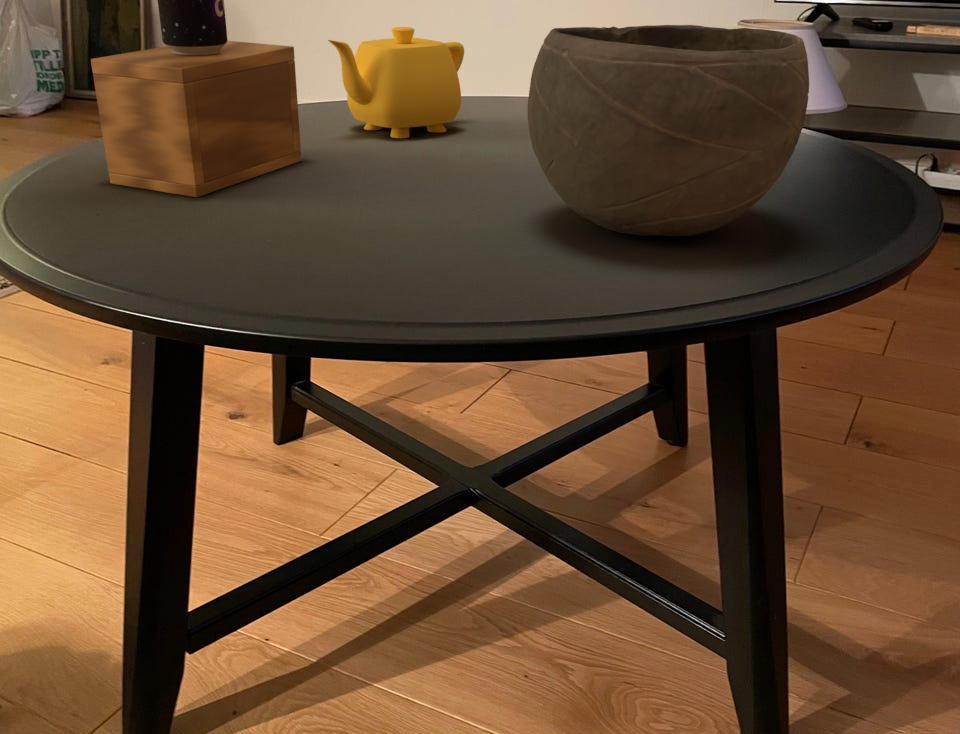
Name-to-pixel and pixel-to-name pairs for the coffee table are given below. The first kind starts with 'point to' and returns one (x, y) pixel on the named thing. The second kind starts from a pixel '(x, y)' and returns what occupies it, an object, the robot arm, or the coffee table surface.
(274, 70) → the small wooden crate
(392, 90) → the teapot
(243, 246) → the coffee table surface
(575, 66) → the bowl
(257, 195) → the coffee table surface
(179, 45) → the beverage can
